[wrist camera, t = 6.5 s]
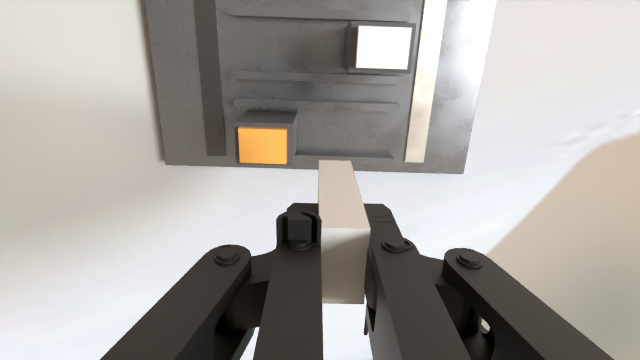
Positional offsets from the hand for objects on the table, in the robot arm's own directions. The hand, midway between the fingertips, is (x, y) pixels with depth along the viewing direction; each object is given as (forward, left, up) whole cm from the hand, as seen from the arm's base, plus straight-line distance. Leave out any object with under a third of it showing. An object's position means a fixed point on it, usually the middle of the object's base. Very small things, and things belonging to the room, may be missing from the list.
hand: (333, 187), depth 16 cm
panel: (-1, +6, -14) cm, 16 cm away
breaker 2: (+3, +6, -13) cm, 15 cm away
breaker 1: (-5, 0, -13) cm, 14 cm away
